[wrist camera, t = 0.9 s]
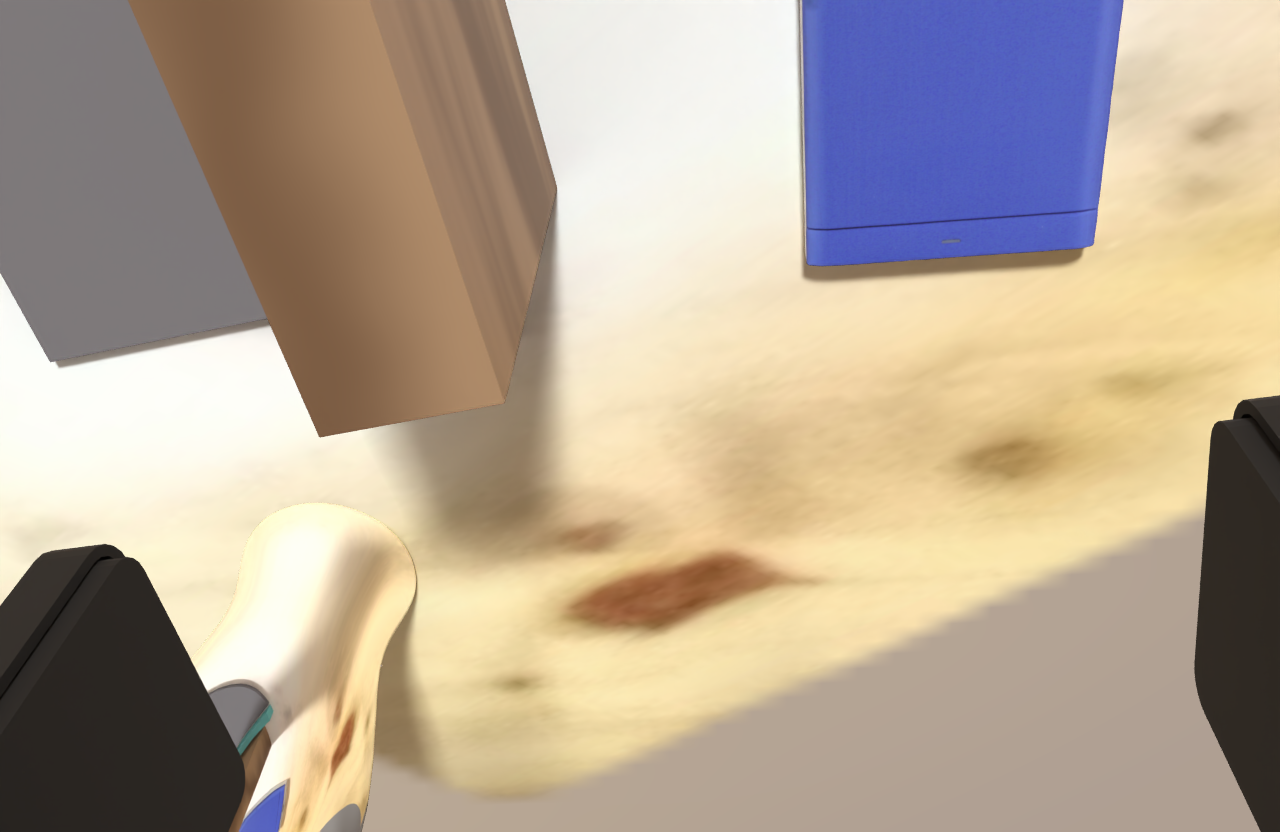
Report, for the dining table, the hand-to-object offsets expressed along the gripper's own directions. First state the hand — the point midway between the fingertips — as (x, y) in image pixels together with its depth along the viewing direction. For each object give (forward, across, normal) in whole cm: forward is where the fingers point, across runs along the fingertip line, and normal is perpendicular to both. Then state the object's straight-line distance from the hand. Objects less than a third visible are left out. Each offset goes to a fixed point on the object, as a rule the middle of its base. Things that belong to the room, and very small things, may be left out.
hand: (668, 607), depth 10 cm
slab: (+24, +7, 0) cm, 25 cm away
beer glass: (+24, +16, +17) cm, 34 cm away
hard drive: (+25, -6, +2) cm, 26 cm away
